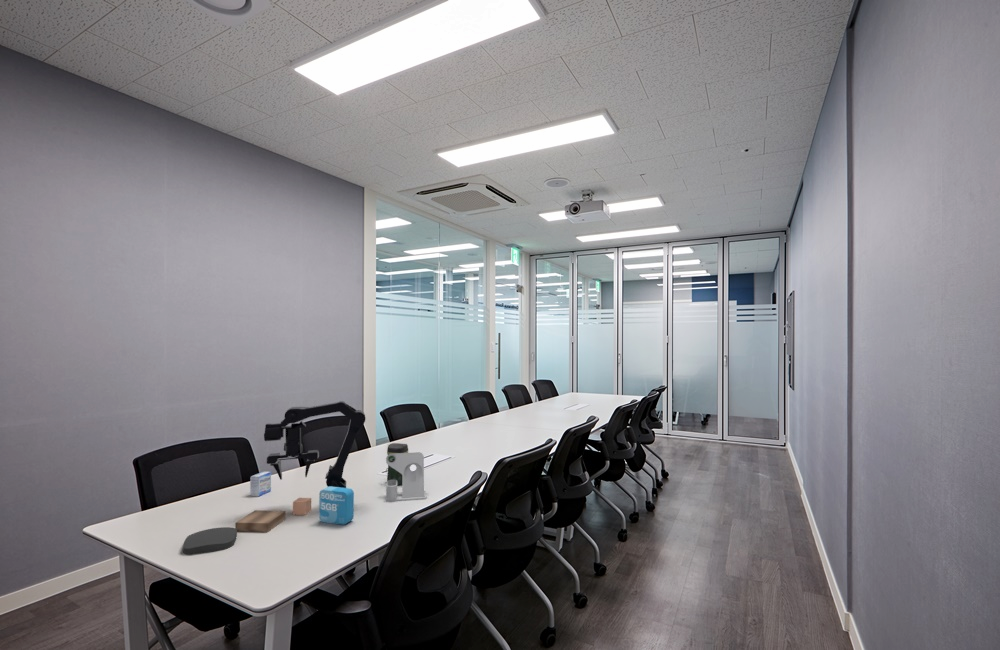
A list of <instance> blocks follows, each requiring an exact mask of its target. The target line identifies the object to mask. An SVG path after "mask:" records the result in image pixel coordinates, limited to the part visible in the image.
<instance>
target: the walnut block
mask: <svg viewBox="0 0 1000 650" xmlns="http://www.w3.org/2000/svg"><path fill="white" fill-rule="evenodd" d="M286 515H287V513H286V510H261V509H260V510H259V509H258V510H257V509H256V510H255V509H254V510H253V511H251V512H249V513H248V514H247V515H245V516H244V517H242V518H240V519H239V520H237V521H236V522H235V525H234V528H236V529H237V532H249V531H254V532H255V533H257V532H259V533H260V532H261V533H270V531H272V530H273V529H274V528H275V526H276V527H277V526H278V525H280V524H281V523H282V522H283V520H284V521H285V520H286V518H287V517H286ZM279 523H280V524H279ZM271 529H272V530H271Z"/></svg>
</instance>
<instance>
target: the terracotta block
mask: <svg viewBox="0 0 1000 650" xmlns="http://www.w3.org/2000/svg"><path fill="white" fill-rule="evenodd" d="M311 511H312V497H297V499H295V500H294V501H293V502H292V515H293V514H294V515H293V516H306V515H308V512H309V513H310V512H311ZM295 514H296V515H295Z"/></svg>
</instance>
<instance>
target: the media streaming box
mask: <svg viewBox="0 0 1000 650" xmlns="http://www.w3.org/2000/svg"><path fill="white" fill-rule="evenodd" d="M237 536H238V531H237V529H236V528H235V527H231V526H230V527H229V526H225V527H224V526H222V527H214V528H208V529H203V530H199V531H197V532H193V533H192V534H189V535H188V536H187V537H186V538H185V539H184V541H183V544H182V554H184V555H187V556H191V555H198V554H204V553H211V552H217V551H222V550H227V549H229V548H231V547H233V546H234V545H235V543H236V541H237V538H238V537H237ZM236 537H237V538H236Z"/></svg>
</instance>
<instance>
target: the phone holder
mask: <svg viewBox="0 0 1000 650" xmlns="http://www.w3.org/2000/svg"><path fill="white" fill-rule="evenodd" d="M390 456H394V457H395V460H394V462H389V461H388V458H389V457H390ZM424 456H425V455H424V454H423V452H417V451H416V452H408V453H395V454H389V455H387V456H386V458H385V463H386V465H389V466H390V467H392V468H393V469H395V470H396V471H398V472H399V473H401V474H402V487H401V488H402V490H401V491H398V485H397V480H388V481H387V480H386V483H385V485H386V487H385V488H386V490H385V492H386V493H385V494H386V495H385V501H386V502H388V503H389V502H390V503H392V502H402V501H403V502H404V501H405V502H406V501H407V502H408V501H418V500H419V501H421V500H427V498H428V495H427V494H428V493H427V491H426V490H425V475H424V474H425V466H424V465H425V462H424V461H425V459H424V458H425V457H424ZM412 465H414V466H415V467H416V469H415V470H411V466H412Z"/></svg>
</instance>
